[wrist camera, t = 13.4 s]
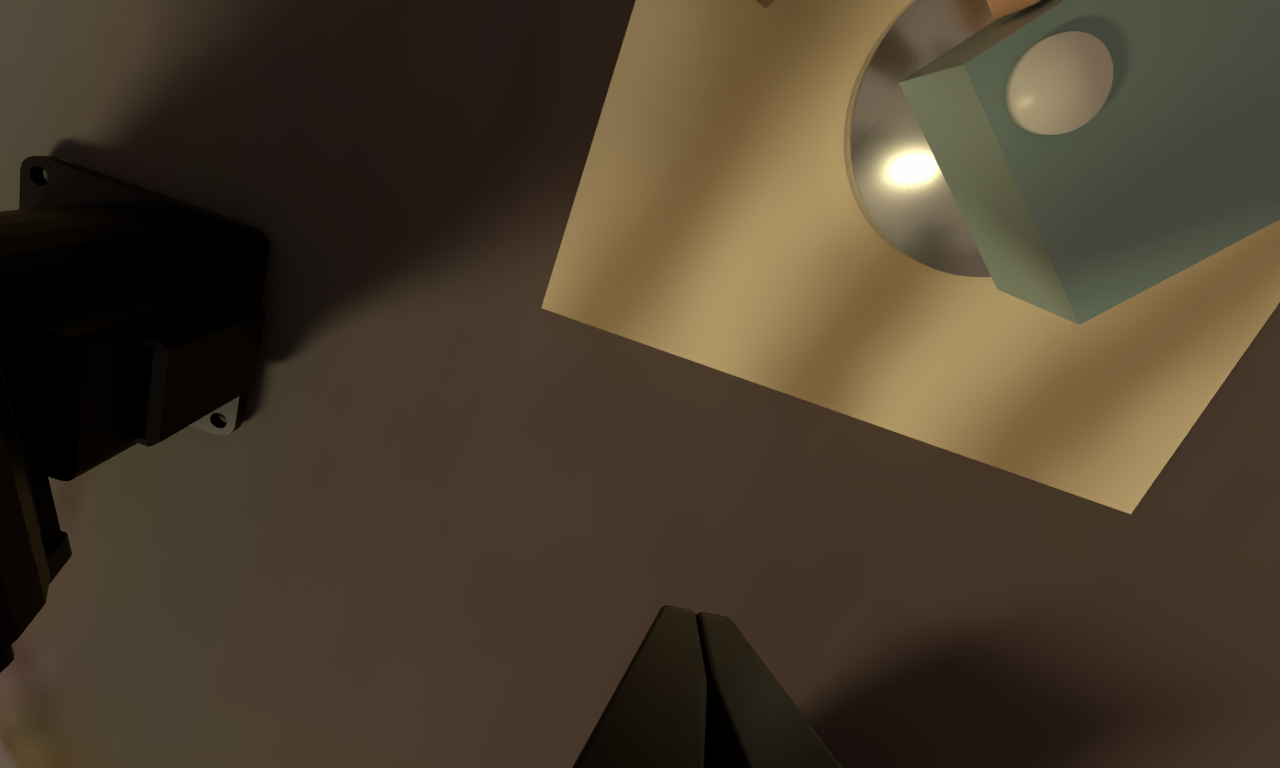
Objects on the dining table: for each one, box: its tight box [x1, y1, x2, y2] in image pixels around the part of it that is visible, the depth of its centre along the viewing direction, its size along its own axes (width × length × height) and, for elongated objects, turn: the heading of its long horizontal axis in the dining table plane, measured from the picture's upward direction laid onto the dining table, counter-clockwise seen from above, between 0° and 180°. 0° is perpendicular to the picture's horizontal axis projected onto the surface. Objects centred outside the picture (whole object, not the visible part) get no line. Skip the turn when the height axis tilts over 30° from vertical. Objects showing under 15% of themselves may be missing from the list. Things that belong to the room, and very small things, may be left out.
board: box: [542, 0, 1280, 514], centre depth 16 cm, size 18×16×1 cm
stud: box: [844, 0, 998, 277], centre depth 15 cm, size 7×7×3 cm
